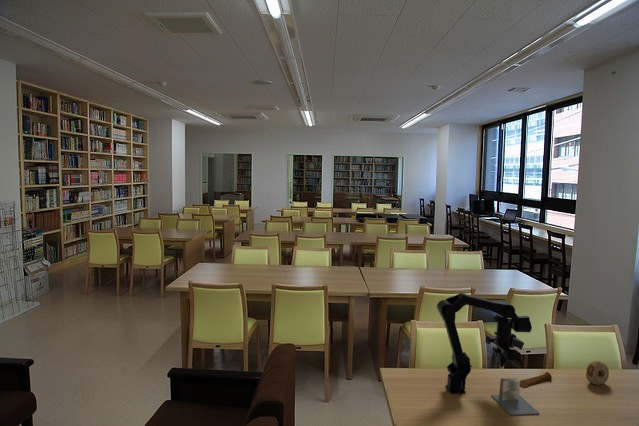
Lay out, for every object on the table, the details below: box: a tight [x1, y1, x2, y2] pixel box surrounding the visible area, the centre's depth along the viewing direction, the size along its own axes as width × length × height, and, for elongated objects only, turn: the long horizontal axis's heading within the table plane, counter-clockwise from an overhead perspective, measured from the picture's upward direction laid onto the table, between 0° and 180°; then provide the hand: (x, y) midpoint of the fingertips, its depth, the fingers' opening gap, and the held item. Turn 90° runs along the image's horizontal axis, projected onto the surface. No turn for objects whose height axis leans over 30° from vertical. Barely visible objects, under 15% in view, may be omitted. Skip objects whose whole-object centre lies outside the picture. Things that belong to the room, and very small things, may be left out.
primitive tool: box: [519, 371, 553, 389], centre depth 186 cm, size 19×6×4 cm, turn 114°
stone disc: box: [585, 360, 610, 386], centre depth 185 cm, size 10×4×10 cm, turn 104°
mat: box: [490, 394, 541, 417], centre depth 166 cm, size 12×14×1 cm
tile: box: [498, 377, 521, 400], centre depth 170 cm, size 7×2×8 cm, turn 96°
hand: (501, 366), depth 176 cm, fingers closed
